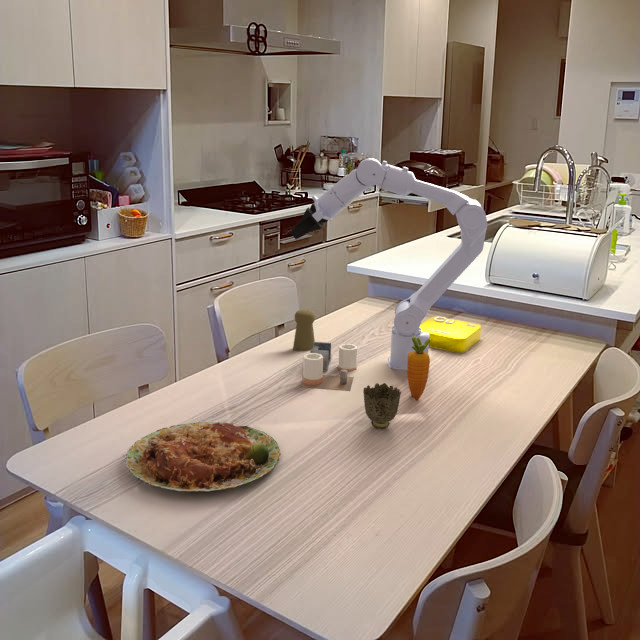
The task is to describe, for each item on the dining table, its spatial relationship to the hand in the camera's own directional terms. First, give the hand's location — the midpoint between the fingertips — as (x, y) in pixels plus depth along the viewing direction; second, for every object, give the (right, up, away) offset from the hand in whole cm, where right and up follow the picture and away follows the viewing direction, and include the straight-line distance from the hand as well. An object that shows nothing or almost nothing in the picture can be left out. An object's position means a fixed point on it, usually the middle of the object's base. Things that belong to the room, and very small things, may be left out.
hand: (296, 232), depth 169 cm
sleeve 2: (+12, -33, +2) cm, 35 cm away
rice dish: (-15, -47, -40) cm, 63 cm away
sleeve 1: (+4, -35, -7) cm, 36 cm away
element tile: (+41, -27, +25) cm, 55 cm away
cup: (+18, -43, -26) cm, 53 cm away
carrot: (+27, -39, -14) cm, 49 cm away
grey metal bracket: (+9, -33, +2) cm, 34 cm away
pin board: (+8, -36, -7) cm, 38 cm away
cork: (+2, -29, +15) cm, 33 cm away
